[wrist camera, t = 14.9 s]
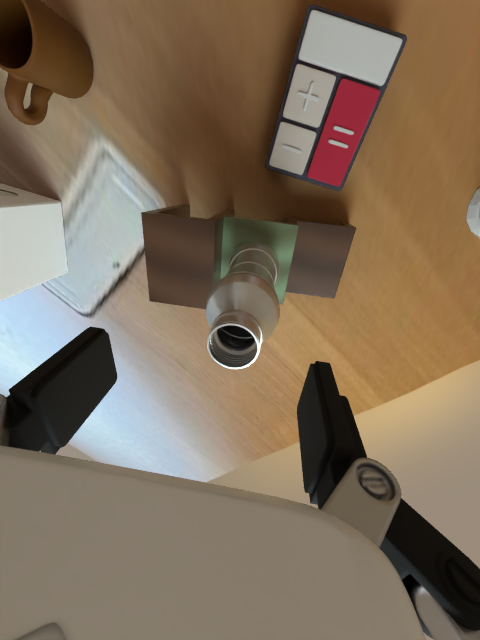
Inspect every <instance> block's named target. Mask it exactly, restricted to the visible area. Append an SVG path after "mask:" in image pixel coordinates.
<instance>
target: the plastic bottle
mask: <svg viewBox="0 0 480 640" xmlns="http://www.w3.org/2000/svg"><path fill="white" fill-rule="evenodd" d="M228 270H229V272H228V274H227V275H226V276H225V277H223V278H222V279H221V280H220V281H219V282H218V283H217V284H216V285H215V286H214V288H213V289H212V290H211V292H210V294H209V296H208V299H207V304H206V315H207V321H208V324H209V327H210V333H209V335H208V339H207V349H208V352H209V354H210V356H211V357H212V358H213V360H214V361H216V362H217V363H218V364H220V365H221V366H224V367H226V368H230V369H241V368H245V367H247V366H249V365H251V364H252V363H253V362H254V361H255V360H256V358H257V356H258V354H259V351H260V346H261V343H262V342H264V341H265V340H266V339H268V338H269V336H270V335H271V334H272V333H273V331H274V329H275V328H276V326H277V324H278V321H279V317H280V307H279V301H278V297H277V294H276V292H275V289H274V284H275V282H276V280H277V277H278V274H279V261H278V258H277V256H276V254H275V252H274V251H273V250H272V249H271V248H270V247H269V246H268V245H267V244H265V243H262V242H258V241H252V242H247V243H245V244H243V245H241V246H240V247H238V248H237V249H236V250H235V251H234V253H233V254H232V256H231V259H230V262H229V269H228Z"/></svg>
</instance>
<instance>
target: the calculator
mask: <svg viewBox="0 0 480 640" xmlns="http://www.w3.org/2000/svg"><path fill="white" fill-rule="evenodd" d="M406 41H407V37H406V35H404V34H401V33H398V32H395V31H392V30H389V29H386V28H383V27H380V26H377V25H374V24H371V23H368V22H365V21H362V20H359V19H356V18H353V17H350V16H347V15H344V14H341V13H338V12H335V11H331V10H328V9H325V8H322V7H319V6H316V5H313V4H312V5H309V7H308V8H307V11H306V15H305V18H304V22H303V26H302V30H301V33H300V37H299V41H298V44H297V48H296V52H295V56H294V59H293V63H292V67H291V70H290V74H289V78H288V82H287V85H286V89H285V93H284V96H283V100H282V104H281V108H280V111H279V115H278V119H277V122H276V126H275V130H274V134H273V137H272V141H271V145H270V148H269V152H268V156H267V160H266V163H265V167H266V168H267V169H269V170H272V171H275V172H278V173H281V174H285V175H288V176H291V177H294V178H297V179H300V180H304V181H307V182H310V183H313V184H316V185H319V186H323V187H326V188H329V189H332V190H335V191H340V190H341V189H342V188H343V185H344V183H345V181H346V179H347V176H348V174H349V172H350V169H351V167H352V165H353V163H354V160H355V158H356V156H357V153H358V151H359V149H360V146H361V144H362V142H363V140H364V137H365V135H366V133H367V130H368V128H369V126H370V124H371V121H372V119H373V117H374V114H375V112H376V110H377V108H378V105H379V103H380V101H381V98H382V96H383V94H384V92H385V89H386V87H387V85H388V82H389V80H390V78H391V76H392V73H393V71H394V69H395V66H396V64H397V62H398V60H399V57H400V55H401V53H402V50H403V48H404V46H405V43H406Z"/></svg>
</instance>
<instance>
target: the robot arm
mask: <svg viewBox="0 0 480 640" xmlns="http://www.w3.org/2000/svg"><path fill="white" fill-rule="evenodd" d="M116 380H117V372H116V367H115V363H114V358H113V353H112V348H111V344H110V339H109V335H108V333H107V332H106V331H105V330H104V329H102V328H96V327H89V328H87V329H86V330H85V331H83V332H82V333H81V334H80V335H78V336H77V337H76V338H74V339H73V340H72V341H71V342H69V343H68V344H67V345H65V346H64V347H63V348H62V349H60V350H59V351H58V352H56V353H55V354H54V355H53V356H51V357H50V358H49V359H48V360H46V361H45V362H44V363H42V364H41V365H40V366H39V367H37V368H36V369H35V370H33V371H32V372H31V373H30V374H28V375H27V376H26V377H24V378H23V379H22V380H21V381H19V382H18V383H17V384H16V385H14V386H13V387H12V388H10V389H9V392H10V395H9V396H8V397H5V396H4V395H1V394H0V640H426V638H425V635H424V633H425V634H426V635H427V636H429V637H431V638H432V639H434V640H480V569H479V568H478V567H477V566H476V565H475V564H474V563H473V562H472V561H471V560H470V559H469V558H468V557H467V556H466V555H465V554H464V553H462V552H461V551H460V550H459V549H458V548H457V547H456V546H455V545H453V544H452V543H451V542H450V541H449V540H448V539H447V538H446V537H444V536H443V535H442V534H441V533H440V532H439V531H438V530H437V529H435V528H434V527H433V526H432V525H431V524H430V523H428V522H427V521H426V520H425V519H424V518H423V517H422V516H421V515H420V514H418V513H417V512H416V511H415V510H414V509H413V508H411V506H409V505H408V504H407V503H406V502H405V501H404V500H403V499H402V498H401V489H400V486H399V484H398V482H397V479H396V478H395V477H394V475H393V474H392V473H391V471H389V470H388V469H387V468H386V467H385V466H384V465H382V464H381V463H379V462H378V461H375V460H373V459H370V458H367V455H366V452H365V450H364V446H363V444H362V440H361V438H360V435H359V431H358V428H357V426H356V423H355V419H354V416H353V413H352V410H351V407H350V404H349V401H348V399H347V398H346V397H345V396H340V395H339V391H338V388H337V385H336V382H335V378H334V375H333V372H332V368H331V365H330V363H326V362H319V361H316V362H315V364H310V367H309V370H308V374H307V377H306V380H305V383H304V387H303V390H302V393H301V396H300V400H299V403H298V407H297V418H298V428H299V439H300V449H301V460H302V471H303V481H304V489H305V492H306V493H309V496H310V503H313V504H317V505H318V509H317V508H314V507H312V506H309V505H306V504H302V503H298V502H295V501H291V500H287V499H283V498H279V497H274V496H269V495H264V494H260V493H255V492H250V491H245V490H241V489H236V488H230V487H225V486H220V485H215V484H210V483H205V482H199V481H194V480H189V479H184V478H179V477H173V476H168V475H163V474H157V473H152V472H147V471H142V470H136V469H131V468H125V467H120V466H115V465H109V464H104V463H99V462H93V461H87V460H82V459H76V458H71V457H65V456H60V455H55V454H56V453H57V451H58V450H59V449H60V448H61V447H64V446H65V445H66V444H67V443H68V442H69V440H70V439H71V438H72V437H73V435H74V434H75V433H76V432H77V430H78V429H79V428H80V427H81V425H82V424H83V423H84V422H85V420H86V419H87V418H88V417H89V415H90V414H91V413H92V412H93V410H94V409H95V408H96V406H97V405H98V404H99V403H100V401H101V400H102V399H103V398H104V396H105V395H106V394H107V393H108V391H109V390H110V389H111V388H112V386H113V385H114V384H115V382H116ZM39 451H41V452H39ZM423 632H424V633H423Z"/></svg>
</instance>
